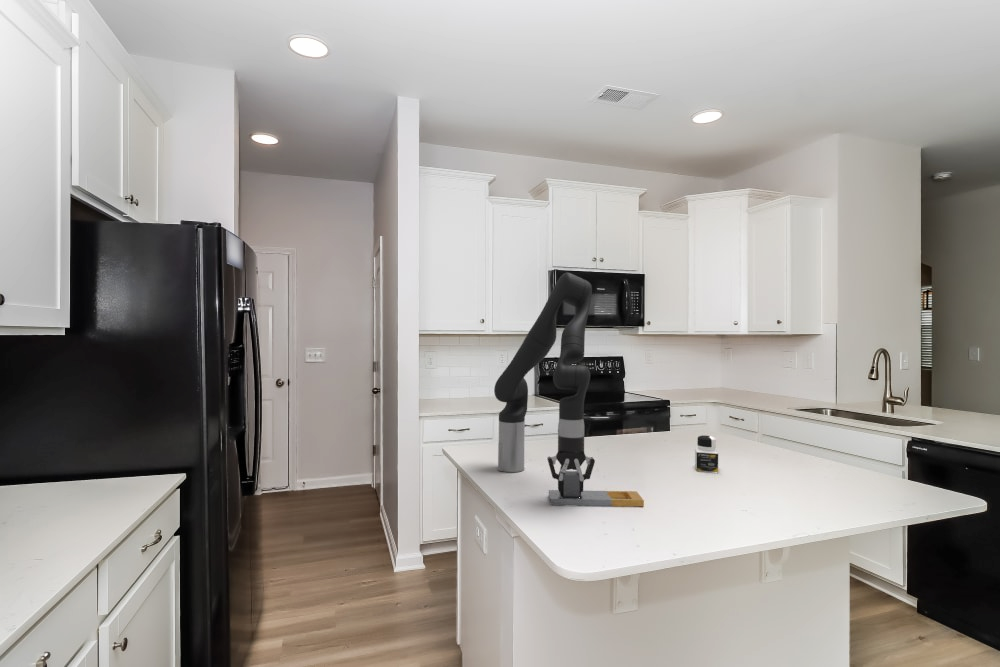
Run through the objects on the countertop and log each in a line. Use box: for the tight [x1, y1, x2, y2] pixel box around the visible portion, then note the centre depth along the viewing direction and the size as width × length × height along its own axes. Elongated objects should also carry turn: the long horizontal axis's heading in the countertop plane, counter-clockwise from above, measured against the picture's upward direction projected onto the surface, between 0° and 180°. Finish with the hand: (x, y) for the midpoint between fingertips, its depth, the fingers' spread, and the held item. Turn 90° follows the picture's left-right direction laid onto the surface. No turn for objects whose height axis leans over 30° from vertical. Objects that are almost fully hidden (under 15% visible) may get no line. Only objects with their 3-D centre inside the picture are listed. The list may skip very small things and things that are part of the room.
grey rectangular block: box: [561, 470, 580, 498], centre depth 145 cm, size 4×4×8 cm
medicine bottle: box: [694, 434, 719, 474], centre depth 180 cm, size 7×7×12 cm
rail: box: [548, 489, 645, 507], centre depth 145 cm, size 26×8×2 cm, turn 89°
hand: (570, 492), depth 145 cm, fingers closed on grey rectangular block, 4 cm apart
